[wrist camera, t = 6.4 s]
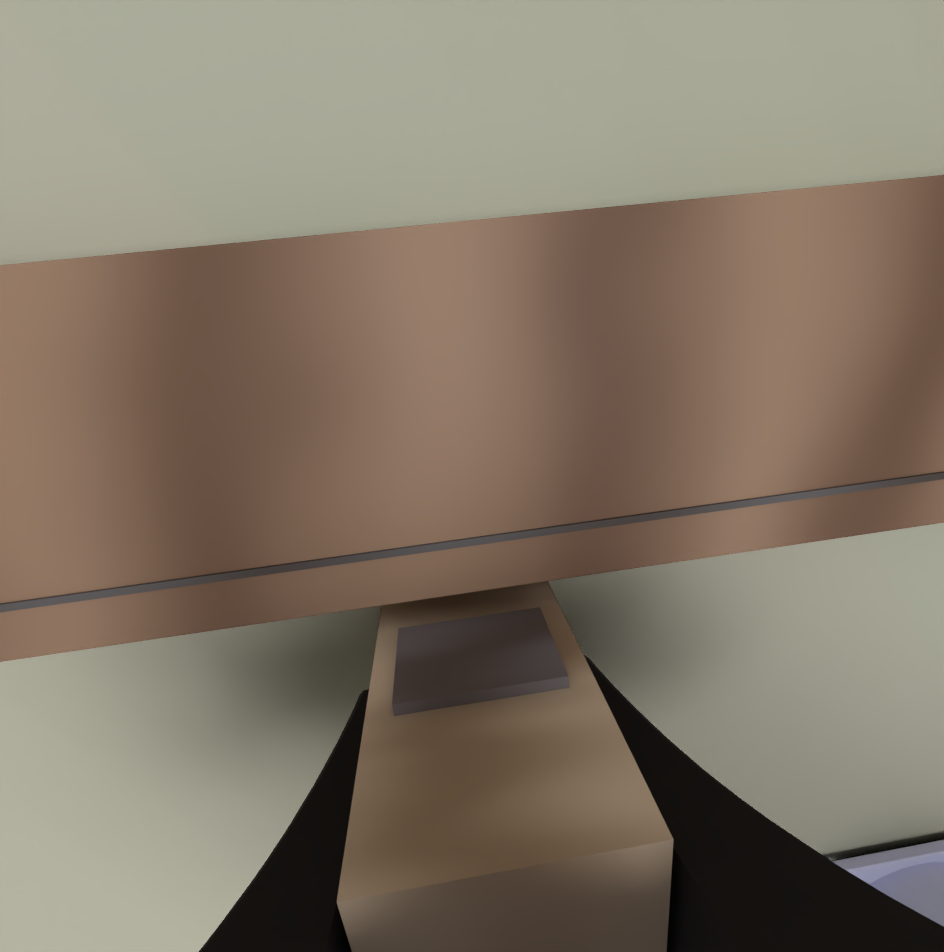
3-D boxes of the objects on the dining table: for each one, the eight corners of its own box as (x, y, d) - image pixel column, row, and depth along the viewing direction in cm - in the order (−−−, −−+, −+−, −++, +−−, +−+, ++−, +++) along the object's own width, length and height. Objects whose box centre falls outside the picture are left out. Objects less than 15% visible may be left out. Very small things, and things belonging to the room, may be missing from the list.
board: (1185, 171, 10) (1363, 134, 8) (1084, 460, 13) (1205, 485, 11) (-120, 299, 9) (-279, 291, 7) (33, 609, 11) (-53, 671, 9)
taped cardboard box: (539, 558, 11) (674, 825, 5) (549, 716, 13) (659, 1059, 7) (382, 580, 11) (332, 887, 5) (413, 739, 13) (402, 1115, 7)
